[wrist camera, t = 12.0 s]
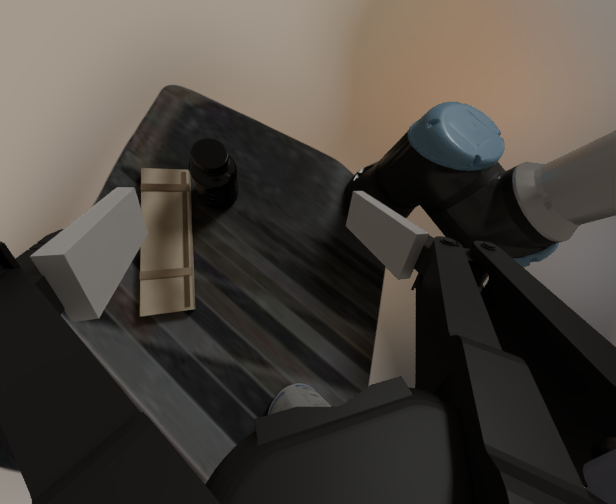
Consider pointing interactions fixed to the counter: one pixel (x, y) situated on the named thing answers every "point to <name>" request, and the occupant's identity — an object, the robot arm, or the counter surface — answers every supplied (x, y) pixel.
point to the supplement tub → (296, 398)
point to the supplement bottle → (213, 174)
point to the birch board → (166, 242)
